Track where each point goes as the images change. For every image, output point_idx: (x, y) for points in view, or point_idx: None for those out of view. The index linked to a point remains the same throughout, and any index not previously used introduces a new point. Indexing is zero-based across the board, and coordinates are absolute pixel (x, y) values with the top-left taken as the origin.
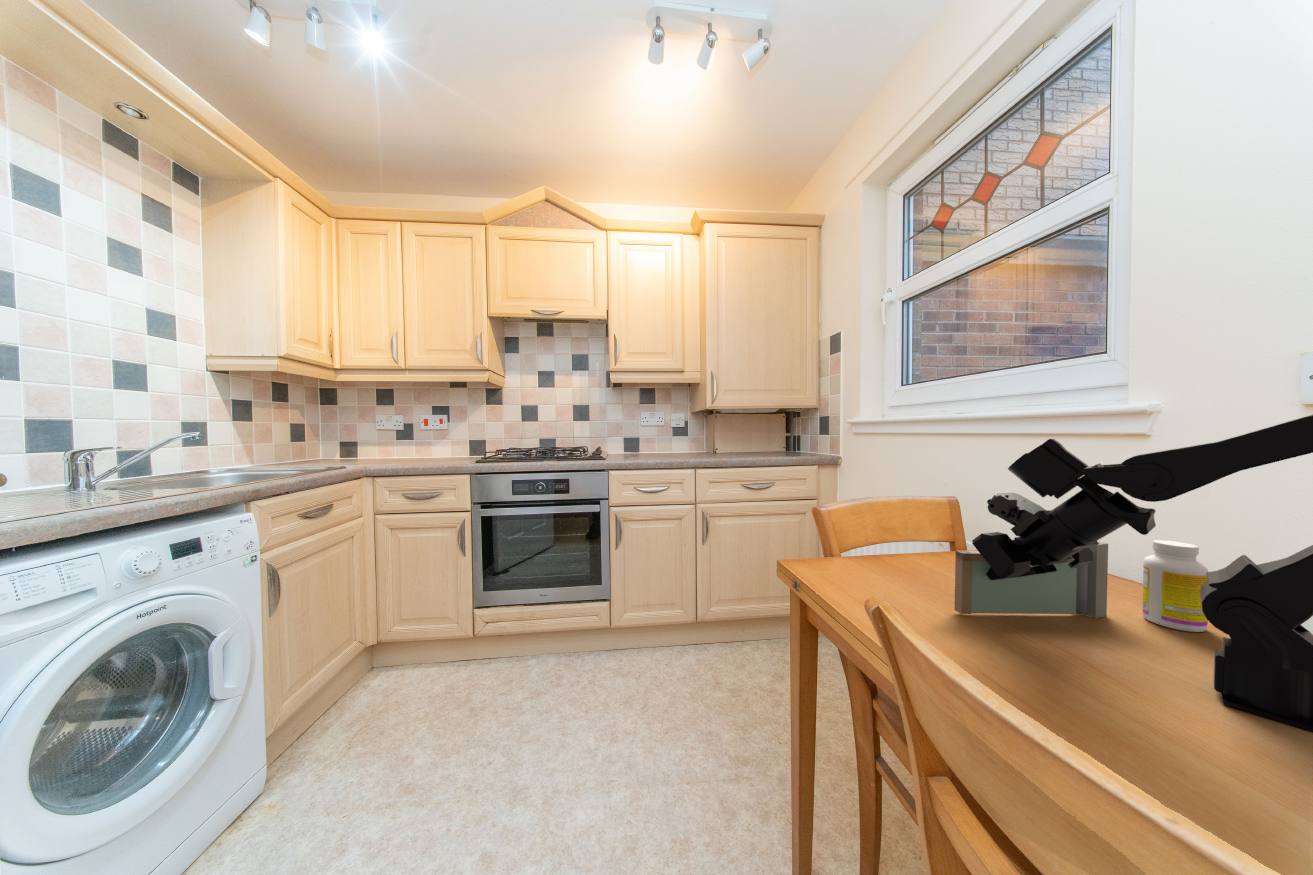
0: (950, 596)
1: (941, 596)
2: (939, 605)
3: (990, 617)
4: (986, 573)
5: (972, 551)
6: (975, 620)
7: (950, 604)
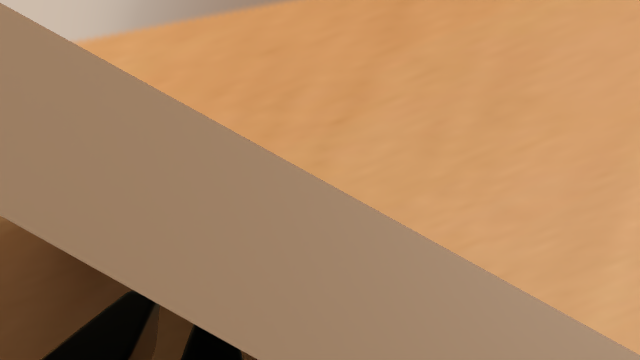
0: (369, 38)
1: (317, 11)
2: (142, 73)
3: None
4: (125, 295)
5: (8, 61)
6: (73, 303)
7: (224, 99)
